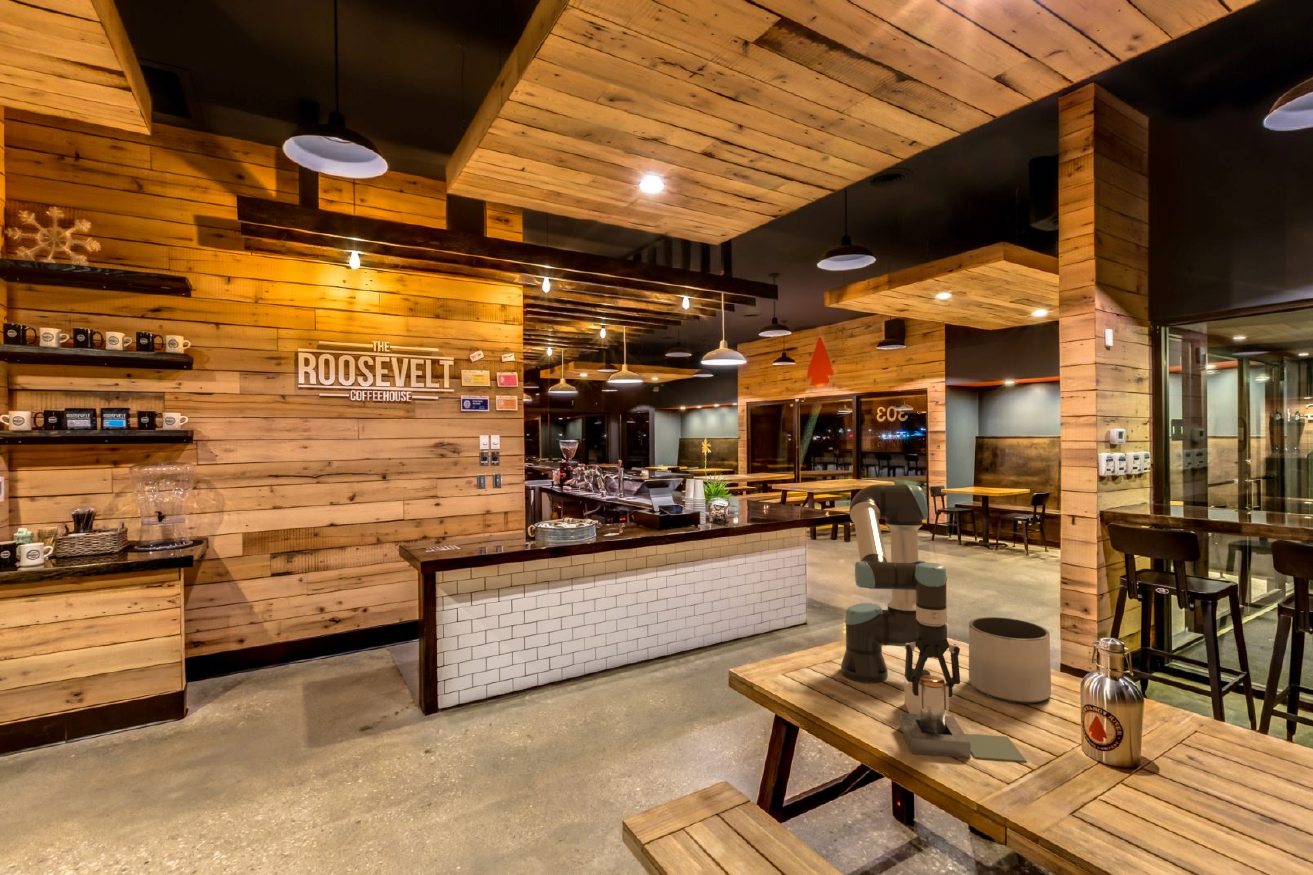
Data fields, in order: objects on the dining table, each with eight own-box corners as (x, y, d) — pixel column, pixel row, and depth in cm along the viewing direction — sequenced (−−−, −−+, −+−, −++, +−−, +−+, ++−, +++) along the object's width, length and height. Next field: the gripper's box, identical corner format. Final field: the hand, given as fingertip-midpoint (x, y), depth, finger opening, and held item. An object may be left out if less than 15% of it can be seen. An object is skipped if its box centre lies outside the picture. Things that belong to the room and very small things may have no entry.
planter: (1005, 671, 205) (1004, 613, 205) (1069, 699, 184) (1068, 634, 184) (952, 681, 198) (952, 621, 198) (1013, 711, 177) (1012, 643, 176)
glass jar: (918, 721, 164) (917, 674, 164) (941, 723, 163) (940, 675, 163) (923, 732, 158) (923, 683, 158) (948, 734, 157) (947, 685, 157)
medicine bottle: (935, 716, 175) (934, 675, 174) (909, 714, 176) (908, 673, 176) (929, 705, 182) (928, 665, 181) (904, 703, 183) (903, 664, 183)
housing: (900, 727, 168) (899, 713, 168) (953, 730, 166) (953, 716, 166) (912, 753, 155) (911, 738, 155) (970, 758, 152) (970, 742, 152)
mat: (959, 734, 164) (959, 733, 164) (1007, 738, 162) (1007, 736, 162) (974, 758, 152) (974, 756, 152) (1026, 762, 150) (1026, 760, 150)
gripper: (896, 625, 158) (898, 712, 159) (974, 628, 155) (975, 716, 155) (891, 616, 166) (892, 699, 166) (964, 619, 162) (966, 703, 163)
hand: (932, 707), depth 161 cm, fingers closed on glass jar, 6 cm apart
